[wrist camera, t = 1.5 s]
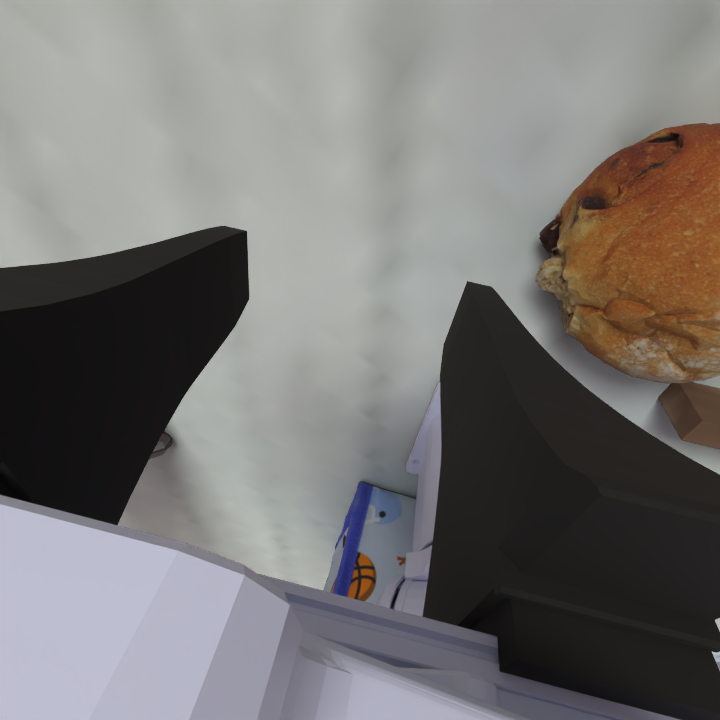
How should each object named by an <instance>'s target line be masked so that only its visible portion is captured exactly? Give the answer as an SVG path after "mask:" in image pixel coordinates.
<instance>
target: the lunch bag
mask: <svg viewBox="0 0 720 720" xmlns="http://www.w3.org/2000/svg"><path fill="white" fill-rule="evenodd" d="M415 509H416V499H414V498H411V497H408V496H405V495H401V494H397V493H394V492H390V491H386V490H383V489H380V488H377V487H373V486H371V485H369V484H367V483H364V482H359V484H358V487H357V492H356V494H355V497H354V500H353V502H352V504H351V507H350V509H349V512H348V514H347V516H346V519H345V523H344V527H343V531H342V533H341V535H340V537H339V539H338V542H337V543H336V546H335V552H334V555H333V557H332V563H331V568H330V573H329V576H328V578H327V581H326V584H325V587H324V590H323V591H326V592H330V593H333V594H337V595H341V596H345V597H349V598H352V599H356V600H360V601H364V602H368V603H371V604H375V605H376V603H377V600H378V598H379V596H380V594H381V593H382V591H383V590H384V588H385V586H386V584H387V583H388V581H389V580H390V579H391V578H392V577H393V576H395V575H398V574H405V565H406V554H407V553H409V552H413V532H414V521H415Z"/></svg>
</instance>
